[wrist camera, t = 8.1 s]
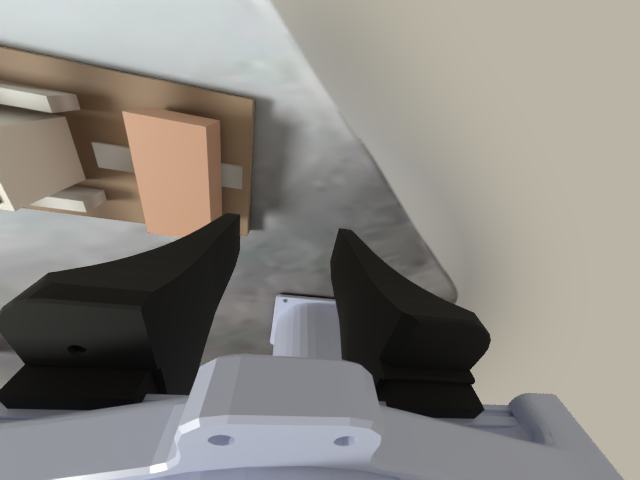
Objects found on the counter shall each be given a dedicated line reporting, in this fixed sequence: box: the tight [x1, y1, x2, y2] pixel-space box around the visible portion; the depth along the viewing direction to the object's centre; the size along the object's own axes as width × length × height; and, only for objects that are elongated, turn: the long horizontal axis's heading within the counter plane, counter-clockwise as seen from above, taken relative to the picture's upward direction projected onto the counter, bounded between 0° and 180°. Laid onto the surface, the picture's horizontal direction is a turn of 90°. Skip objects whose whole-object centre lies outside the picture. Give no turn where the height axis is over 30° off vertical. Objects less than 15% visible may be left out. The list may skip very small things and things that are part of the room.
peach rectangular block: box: [122, 107, 222, 237], centre depth 16 cm, size 4×7×3 cm, turn 169°
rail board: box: [0, 46, 255, 236], centre depth 16 cm, size 20×10×3 cm, turn 79°
